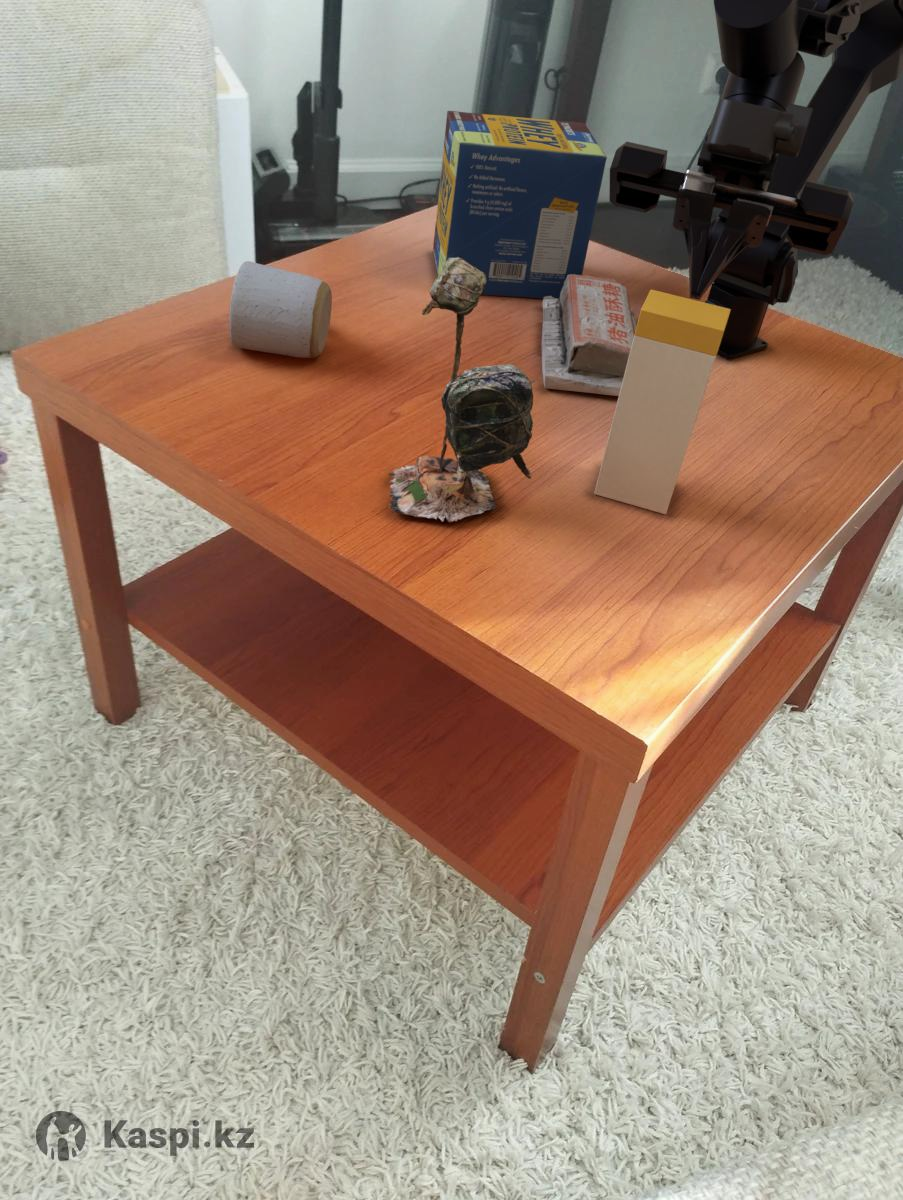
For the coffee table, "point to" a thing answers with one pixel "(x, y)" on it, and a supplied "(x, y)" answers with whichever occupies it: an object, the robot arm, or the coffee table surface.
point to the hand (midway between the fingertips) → (694, 297)
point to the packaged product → (587, 336)
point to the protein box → (517, 200)
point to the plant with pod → (467, 419)
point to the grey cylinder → (279, 311)
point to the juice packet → (660, 399)
